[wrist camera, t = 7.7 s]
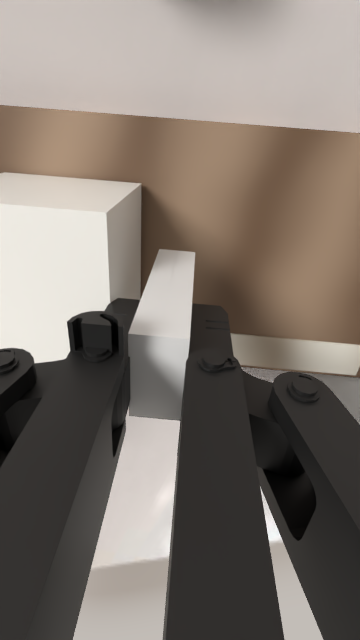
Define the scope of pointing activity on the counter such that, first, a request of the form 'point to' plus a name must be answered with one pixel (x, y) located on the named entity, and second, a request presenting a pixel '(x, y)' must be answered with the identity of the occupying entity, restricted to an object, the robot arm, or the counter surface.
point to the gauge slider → (63, 256)
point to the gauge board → (229, 219)
